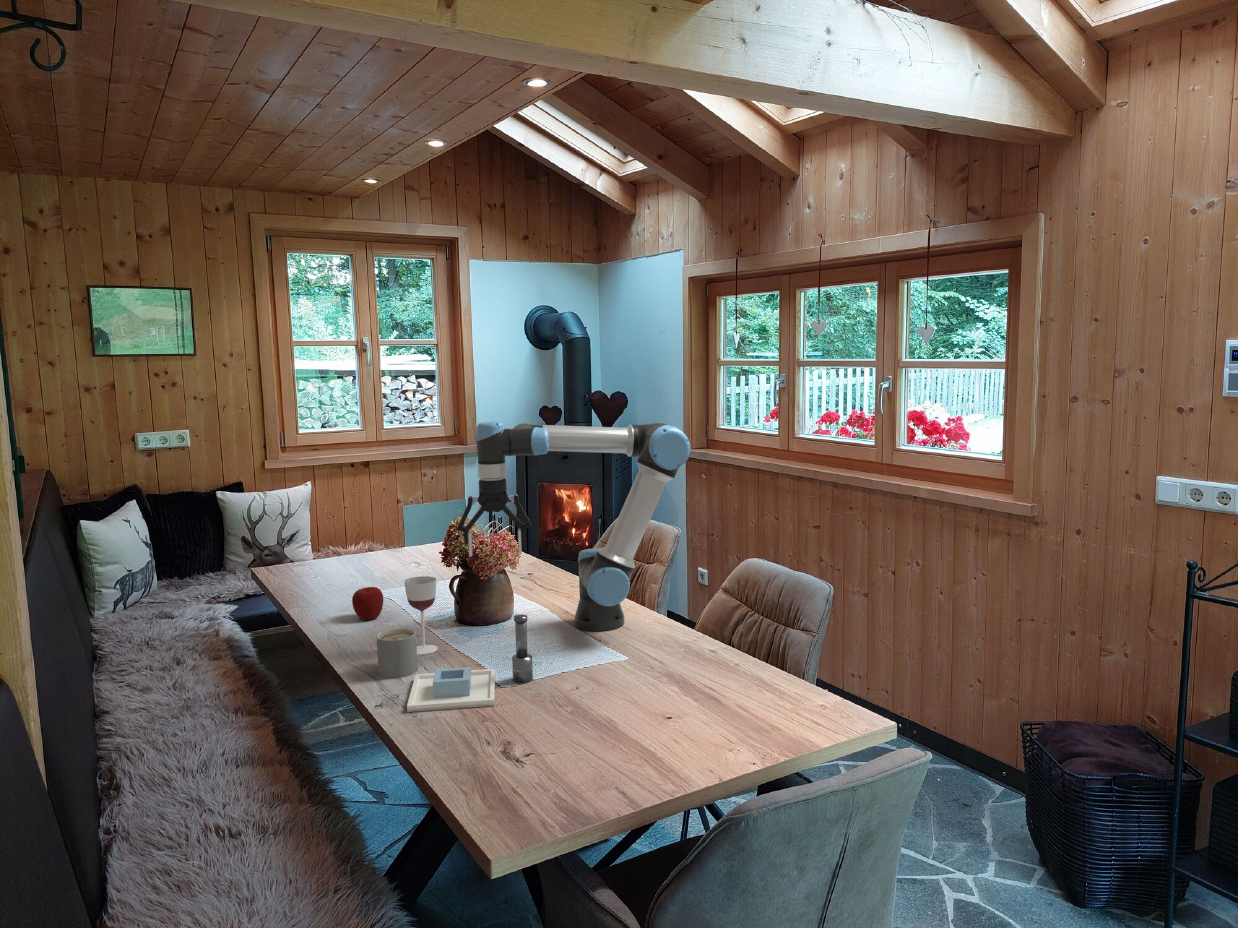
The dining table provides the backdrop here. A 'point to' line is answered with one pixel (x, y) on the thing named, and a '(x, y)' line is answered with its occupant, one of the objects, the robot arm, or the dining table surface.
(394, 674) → the coffee mug
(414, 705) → the tray
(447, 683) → the ring
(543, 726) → the dining table surface
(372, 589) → the apple
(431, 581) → the wineglass
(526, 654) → the pestle
